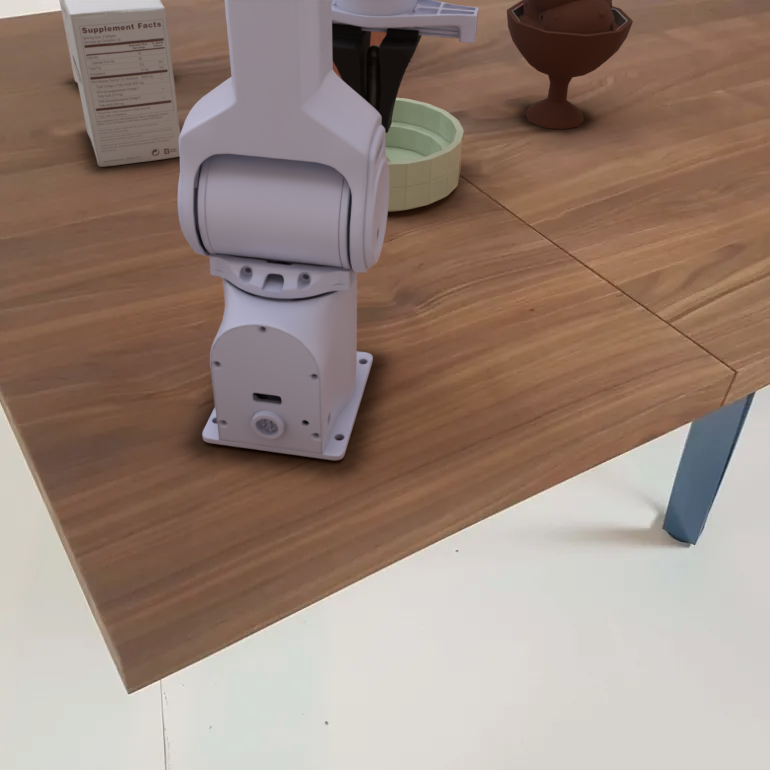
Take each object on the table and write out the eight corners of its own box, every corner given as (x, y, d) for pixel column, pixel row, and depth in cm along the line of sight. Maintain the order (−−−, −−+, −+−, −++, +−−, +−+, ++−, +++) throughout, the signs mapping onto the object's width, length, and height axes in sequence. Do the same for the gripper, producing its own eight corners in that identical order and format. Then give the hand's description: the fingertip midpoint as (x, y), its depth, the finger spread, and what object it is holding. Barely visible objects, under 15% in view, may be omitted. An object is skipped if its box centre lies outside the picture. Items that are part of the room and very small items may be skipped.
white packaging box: (86, 134, 81) (57, -15, 74) (169, 124, 84) (150, -22, 76) (96, 169, 76) (67, 13, 68) (185, 158, 78) (166, 4, 70)
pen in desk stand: (387, 188, 72) (391, 54, 66) (350, 184, 73) (350, 50, 66) (394, 172, 75) (398, 40, 68) (357, 168, 75) (358, 37, 68)
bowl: (449, 226, 70) (453, 172, 68) (282, 208, 72) (279, 154, 69) (466, 153, 80) (470, 104, 78) (319, 139, 82) (319, 90, 79)
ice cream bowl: (613, 146, 82) (647, -31, 73) (489, 133, 84) (507, -42, 75) (614, 102, 91) (644, -62, 81) (501, 91, 92) (519, -72, 83)
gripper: (488, -71, 65) (471, 115, 73) (288, -85, 66) (295, 98, 75) (479, -45, 59) (462, 152, 68) (262, -61, 61) (272, 133, 69)
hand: (373, 126), depth 71 cm, fingers closed on pen in desk stand
